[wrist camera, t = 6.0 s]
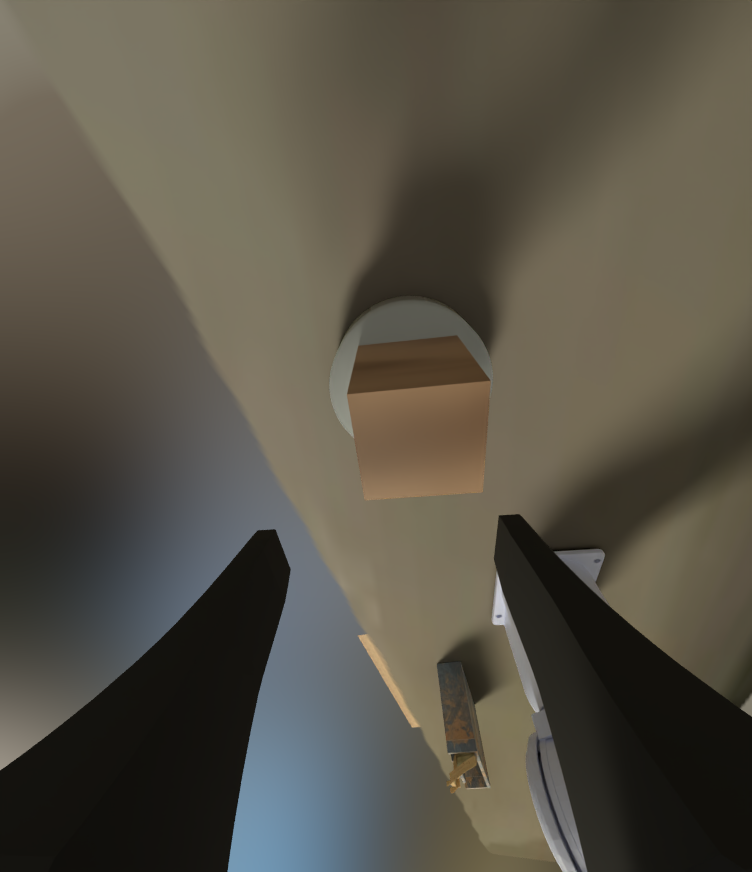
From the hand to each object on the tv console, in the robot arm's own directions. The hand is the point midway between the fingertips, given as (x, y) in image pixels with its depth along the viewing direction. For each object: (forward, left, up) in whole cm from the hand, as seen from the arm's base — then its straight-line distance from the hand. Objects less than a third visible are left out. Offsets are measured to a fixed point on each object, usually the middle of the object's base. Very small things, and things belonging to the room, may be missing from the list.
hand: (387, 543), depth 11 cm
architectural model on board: (-37, -4, -11) cm, 39 cm away
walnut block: (+2, -1, -8) cm, 8 cm away
